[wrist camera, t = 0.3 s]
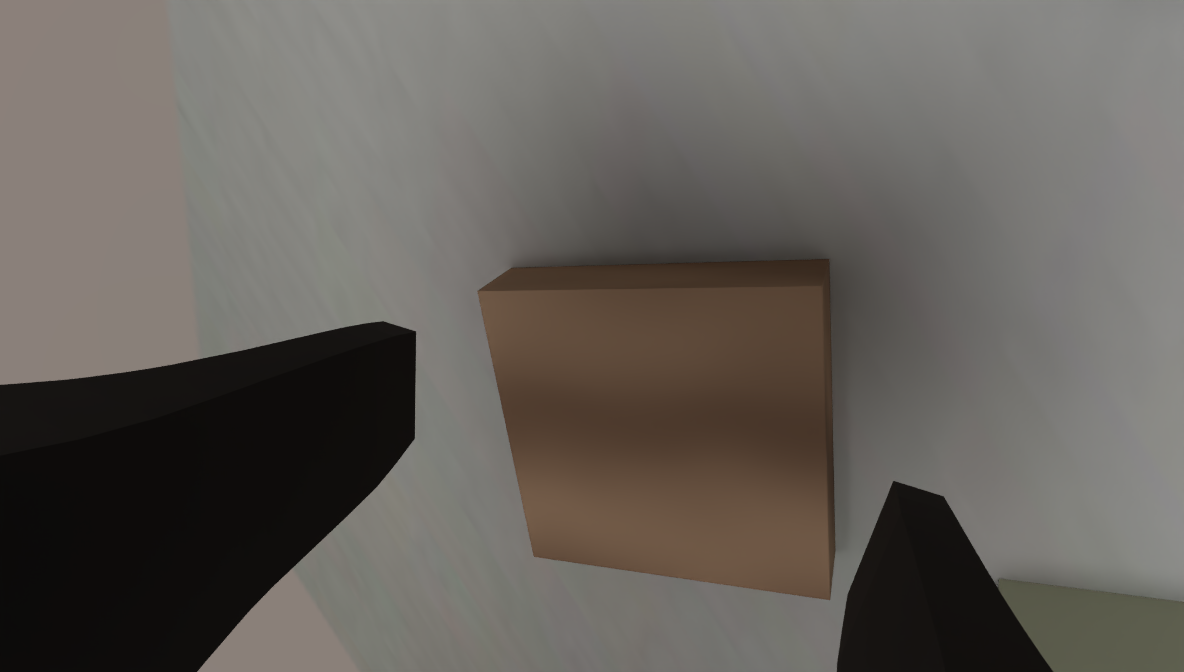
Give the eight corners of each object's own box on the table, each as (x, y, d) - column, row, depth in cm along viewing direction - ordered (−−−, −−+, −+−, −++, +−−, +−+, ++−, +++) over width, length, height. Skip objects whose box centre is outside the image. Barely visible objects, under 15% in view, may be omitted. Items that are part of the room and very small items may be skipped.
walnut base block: (836, 541, 21) (830, 599, 19) (564, 509, 25) (534, 556, 23) (830, 253, 18) (821, 286, 16) (518, 263, 22) (477, 291, 20)
